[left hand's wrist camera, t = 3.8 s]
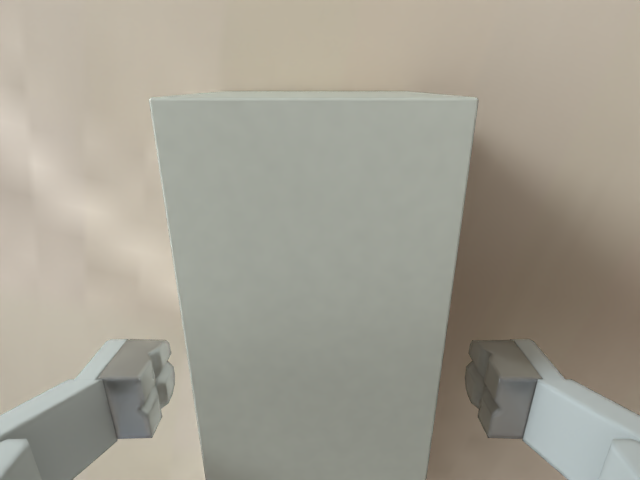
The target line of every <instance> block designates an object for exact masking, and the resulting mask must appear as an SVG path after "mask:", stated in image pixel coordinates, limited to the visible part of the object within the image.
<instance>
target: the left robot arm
mask: <svg viewBox="0 0 640 480" xmlns="http://www.w3.org/2000/svg"><path fill="white" fill-rule="evenodd" d="M170 355H171V349H170V344H169V342H168V341H167V340H144V339H130V340H129V339H111V340H108V341H106V342H105V344H104V345H103V346H102V347H101V348H100V350H99V351H98V352H97V353H96V354H95V356H94V357H93V358H92V359H91V360H90V362H89V363H88V364H87V365H86V366H85V367H84V369H83V370H82V371H81V372H80V373H79V375H78V376H77V377H76V378H75V379H68V380H67V381H65V382H63V383H61V384H59V385H57V386H55V387H53V388H51V389H49V390H47V391H46V392H44V393H42V394H40V395H38V396H36V397H34V398H32V399H30V400H28V401H27V402H25V403H23V404H21V405H19V406H17V407H15V408H13V409H11V410H9V411H7V412H6V413H4V414H2V415H0V480H72V479H74V478H75V477H76V476H77V475H78V474H79V473H81V472H82V471H83V470H84V469H85V468H86V467H88V466H89V465H90V464H91V463H92V462H93V461H94V460H96V459H97V458H98V457H99V456H100V455H101V454H103V453H104V452H105V451H106V450H107V449H108V448H110V447H111V446H112V445H113V444H114V443H115V442H116V441H117V439H127V438H152V437H153V435H154V433H155V431H156V429H157V426H158V424H159V422H160V420H161V418H162V412H161V408H163V407H164V406H165V405H167V404H168V403H169V401H170V399H171V397H172V394H173V390H174V385H175V372H174V367H173V366H172V365H171V364H170V363H169V362H168V359H169V357H170ZM469 355H470V357H471V359H472V362H471V363H470V364H469V365H468V366H467V367H466V373H465V384H466V390H467V394H468V397H469V399H470V401H471V403H472V404H473V405H475V406H476V407H477V408H479V412H478V418H479V420H480V422H481V424H482V426H483V429H484V431H485V433H486V435H487V437H488V438H512V439H523V441H524V442H525V443H526V444H527V445H528V446H530V447H531V448H532V449H533V450H534V451H535V452H536V453H538V454H539V455H540V456H541V457H542V458H543V459H545V460H546V461H547V462H548V463H549V464H550V465H551V466H553V467H554V468H555V469H556V470H557V471H558V472H560V473H561V474H562V475H563V476H564V477H565V478H566V479H568V480H640V415H638V414H636V413H634V412H632V411H630V410H629V409H627V408H625V407H623V406H621V405H619V404H617V403H615V402H613V401H611V400H610V399H608V398H606V397H604V396H602V395H600V394H598V393H596V392H594V391H592V390H591V389H589V388H587V387H585V386H583V385H581V384H579V383H577V382H575V381H573V380H572V379H565V378H564V377H563V376H562V375H561V373H560V372H559V371H558V370H557V369H556V368H555V366H554V365H553V364H552V363H551V362H550V360H549V359H548V358H547V357H546V356H545V354H544V353H543V352H542V351H541V350H540V348H539V347H538V346H537V345H536V344H535V343H534V341H532V340H530V339H510V340H472V342H471V344H470V348H469Z"/></svg>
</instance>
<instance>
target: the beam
mask: <svg viewBox="0 0 640 480" xmlns="http://www.w3.org/2000/svg"><path fill="white" fill-rule="evenodd" d="M149 103H150V109H151V116H152V123H153V129H154V136H155V143H156V150H157V156H158V163H159V170H160V176H161V183H162V190H163V196H164V203H165V210H166V217H167V223H168V230H169V237H170V243H171V250H172V257H173V263H174V270H175V277H176V284H177V290H178V297H179V304H180V310H181V317H182V324H183V331H184V337H185V344H186V351H187V357H188V364H189V371H190V377H191V384H192V391H193V398H194V404H195V411H196V418H197V424H198V431H199V438H200V444H201V451H202V458H203V465H204V471H205V478H206V480H426V477H427V470H428V462H429V455H430V448H431V441H432V434H433V426H434V419H435V412H436V405H437V397H438V390H439V383H440V376H441V368H442V361H443V354H444V347H445V340H446V332H447V325H448V318H449V311H450V303H451V296H452V289H453V282H454V275H455V267H456V260H457V253H458V246H459V238H460V231H461V224H462V217H463V209H464V202H465V195H466V188H467V181H468V173H469V166H470V159H471V152H472V144H473V137H474V130H475V123H476V116H477V108H478V98H476V97H466V96H455V95H444V94H432V93H421V92H410V91H222V92H210V93H199V94H187V95H175V96H163V97H152V98H150V100H149Z"/></svg>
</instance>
